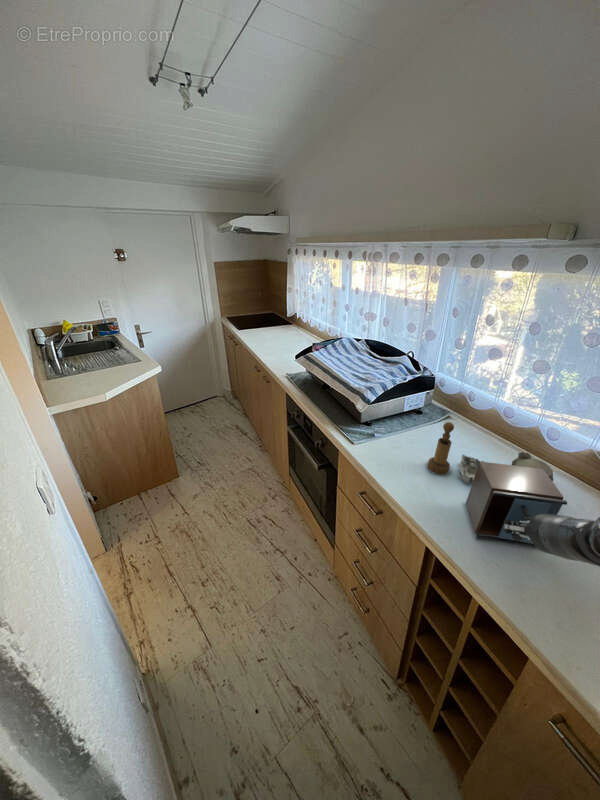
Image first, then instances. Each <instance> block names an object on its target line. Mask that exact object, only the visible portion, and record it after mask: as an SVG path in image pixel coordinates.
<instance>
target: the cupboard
mask: <svg viewBox="0 0 600 800" xmlns="http://www.w3.org/2000/svg"><path fill="white" fill-rule="evenodd" d="M515 498H516V499H523V500H530V501H538V502H545V503H551V507H550V509H549V511H548V513H547V514H552V515H559V512H560V510H561V509H562V507H563V505H565V506H567V505H568V501H567V500H566V499H564V496H563V495H562V492H561V491H560V490H559V489H558V487H557V486H556V485H555V483H554V481H553V482H552V480H551V479H550V478H549V476H548V475H547V473H546V472H545V471H544V469H539V468H531V467H522V466H514V465H512V464H503V463H498V462H497V463H495V462H488V461H483V462H480V463H479V466H478V469H477V471H476V474H475V477H474V480H473V482H471V486H470V489H469V492H468V495H467V498H466V501H465V508H466V511H467V514H468V517H469V521H470V523H471V525H472V529H473V532H474V534H475V538H476V539H479V540H487V541H490V542H491V541H492V542H498V543H505V544H511V545H517V546H523V547H529V548H533V549H538V548H537V547H536V546H535V545H534V544H533V543H529V542H522V541H514V540H510V539H504V538H499V536H498V535H499V533H500V531H501V529H502V526H503V524H504V521H505V519H506V517H507V515H508V513H509V510H510V508H511V506H512V504H513V501H514V499H515Z"/></svg>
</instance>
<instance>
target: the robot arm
mask: <svg viewBox="0 0 600 800" xmlns="http://www.w3.org/2000/svg"><path fill="white" fill-rule="evenodd" d="M504 532H506V533H508V534H509V533H513V534H514V532H515V533H517V534H519V535H520V537H524V538H527V539H528V540H531V541H532V543H533V544H534V545H535V546H536V547H537V548H536V549H538V550H539V551H542V553H543V552H544V553H545V554H548V555H552V556H555V557H558V558H562V559H565V560H568V561H574V562H581V563H584V564H587V565H591V566H596V567H600V516H599V517H598V518H597V519H595V520H594V519H587V518H577V517H574V516H569V515H561V514H560V515H559V514H557V515H552V514H539V515H536V516H535V517H533V518H532V519H531V520H530V521H528V520H527V521H519V522H512V521H508V520H506V521H504Z"/></svg>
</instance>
